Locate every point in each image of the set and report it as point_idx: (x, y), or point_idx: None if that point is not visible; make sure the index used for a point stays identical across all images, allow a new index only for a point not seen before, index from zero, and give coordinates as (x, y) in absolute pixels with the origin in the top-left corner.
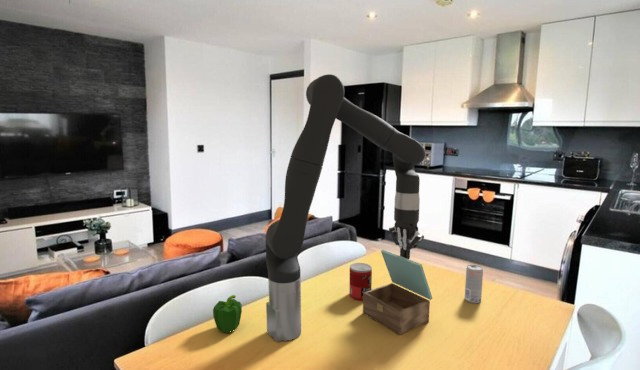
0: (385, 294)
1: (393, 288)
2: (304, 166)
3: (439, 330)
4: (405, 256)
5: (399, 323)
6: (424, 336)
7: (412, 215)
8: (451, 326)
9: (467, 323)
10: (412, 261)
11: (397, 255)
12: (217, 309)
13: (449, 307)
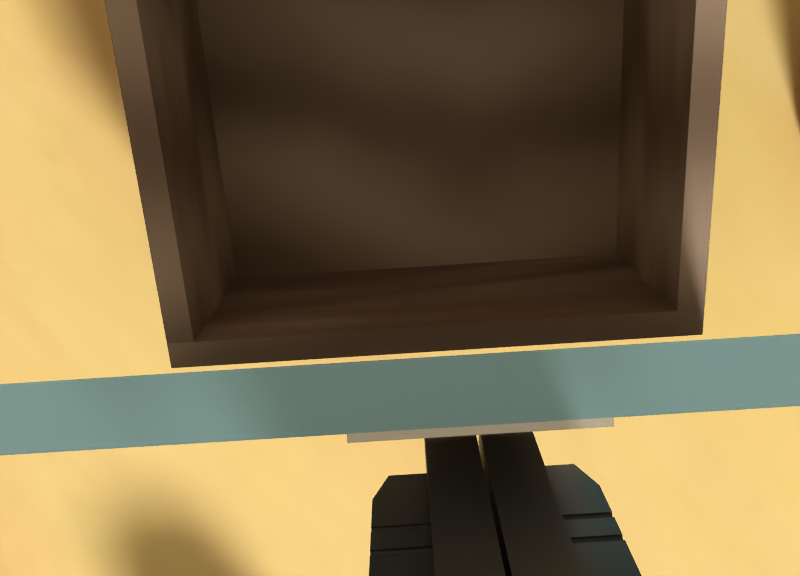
0: (648, 193)
1: (638, 298)
2: None
3: (92, 270)
4: (418, 521)
5: None
6: (69, 106)
7: None
8: None
9: (86, 500)
10: (46, 430)
11: (600, 410)
12: None
13: (315, 566)
